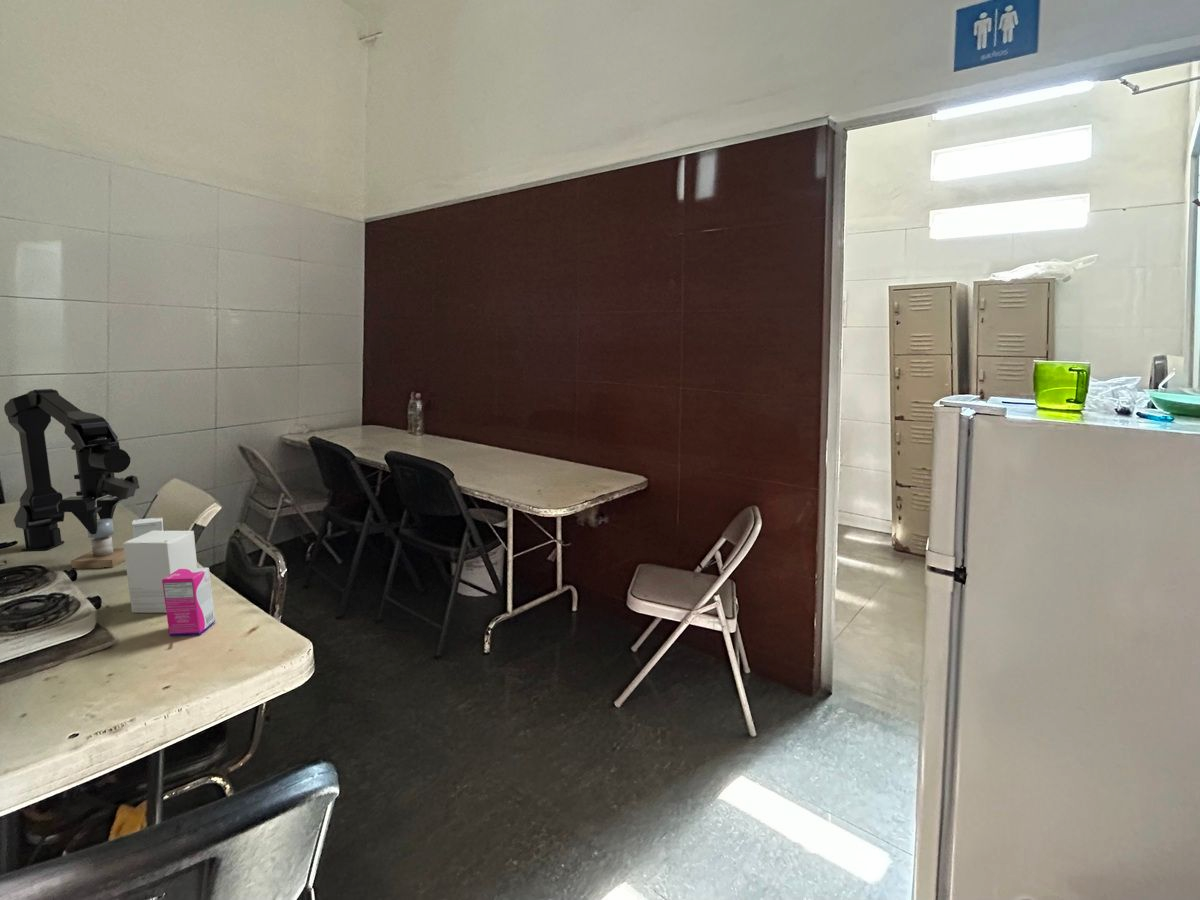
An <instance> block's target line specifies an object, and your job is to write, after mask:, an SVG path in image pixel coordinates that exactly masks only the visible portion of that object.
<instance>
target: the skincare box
mask: <svg viewBox="0 0 1200 900" xmlns="http://www.w3.org/2000/svg"><path fill="white" fill-rule="evenodd" d="M163 518H164V517H162V516H161V517H150V518H141V519H132V521H131V522H132V523H131V531H132V539H134V538H136V537H139V536H141V535H143V534H146V533H148V532H150V531H153V530H154V531H164V521H163Z"/></svg>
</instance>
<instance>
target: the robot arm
mask: <svg viewBox="0 0 1200 900" xmlns="http://www.w3.org/2000/svg"><path fill="white" fill-rule="evenodd" d="M3 409H4V413H5V415H6V417H7V420H8V423H9V424H10V426H12V427H13V428H14V429H15V431H16V432H18V435H19V443H20V448H21V455H22V463H23V470H24V476H25V484H26V488H25V490H24V492H22V495H21V496H20V498H19V508H18V510H17V512H16V514H15V516H14V517H13V523H14V525H15V527H16V528H19V529H21V530H22V531H23V538H24V543H25V544H24V545H25V547H21V548H20V550H21V551H46V550H47V551H48V550H51V549H53V548H55V547H57V546H60V545H62V544H64V543H65V540H62V535H61V528H60V527H59V526H58V523H59V522H65V513H71V514H73V516H74V517H76V519H77V520H78V521H79V522H80V523H81V524H82V525H83V527H84V528H85V529H86V530H87V532H88V531H89V533H90V534H96V533H97V519H98V517H99V519H104V518H109V519H112V520H113V517H114V513H115V510H116V508H117V506H118V504H119V503H120V502H122V501H124V500H128V499H129V498H131V497H132V498H133V497H134V496H135V493H136V490H138V489H140V487H141V486H140V485H139V484H140V482H139V479H138V476H136V475H128V476H126V477H125V478H123V477H120V478H118V477H115V474H117V473H122V472H124V471H126V470H127V469H128V468H129V466H130V464H131V456H129V454H128V452H127V451H126V450H124V449H122V448H120V447H121V446H120V441H119V440H118V438H119V437H118V435H117V434H116V433H115V432H114V430H113V429H112V426H111V425H110V424H109V422H108V421H107V419H105V418H104V417H103V416H100V415H99V414H96V413H92V412H85V411H83V410H81V409H80V408H78V407H76V406H75V404H73V403H72V402H70V401H68V400H67V399H66V398H65V397H63V396H62V395H61V394H60V393H59V391H58V390H56V389H53V388H41V389H32V390H30V391H28V392H27V393H25V394H22V395H18V396H15V397H12V398H10V399H9V400H8V401H7V402H5V404H4V407H3ZM52 418H53V419H54V420H56V421H57V422H58V423H60V424H61V425H62V426H63V427H64V434H65V435H66V436H67V438H69V440H70V441H71V442H72V443H73V444H72V446H71V447H70V448H71V450H73V451H75V457H76V464H77V465H76V466H77V474H73V477H74V478H73V479H74V480H78V481H79V482H78V483H79V490H77V491H76V492H75V494H76V496H68V497H65V498H63V494H62V493H61V492H58V491H57V489H56V488H54V487H53V486H52V480H51V472H50V466H49V465H50V464H49V457H48V450H47V442H46V434H45V431H46V429H47V428H48V427H49V426H50V424H51V422H52Z"/></svg>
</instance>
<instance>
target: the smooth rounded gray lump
mask: <svg viewBox="0 0 1200 900" xmlns="http://www.w3.org/2000/svg"><path fill="white" fill-rule="evenodd" d="M114 534H115V530H114V521H113V518H112V519H109V518H104V519H100V518H97V533H96V534H90V533H89V531H88V530H87V536H88V537H87V538H90V539H94V538H100V537H106V536H110V537H111V536H113V535H114Z"/></svg>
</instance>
